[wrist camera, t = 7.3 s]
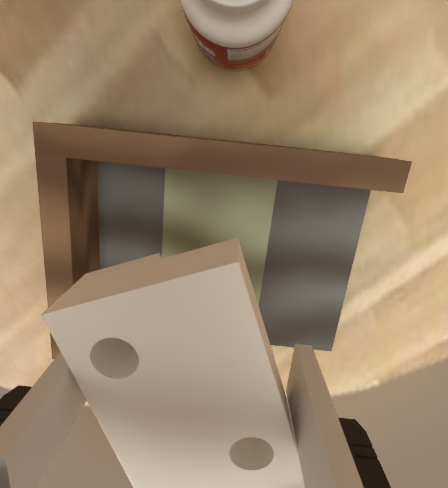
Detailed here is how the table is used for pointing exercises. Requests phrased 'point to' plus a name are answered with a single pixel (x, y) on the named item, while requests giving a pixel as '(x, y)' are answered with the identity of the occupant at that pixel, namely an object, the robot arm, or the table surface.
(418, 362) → the table surface
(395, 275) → the table surface
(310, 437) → the robot arm
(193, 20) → the pill bottle
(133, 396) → the bracket
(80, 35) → the table surface
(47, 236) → the tray
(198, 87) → the table surface
